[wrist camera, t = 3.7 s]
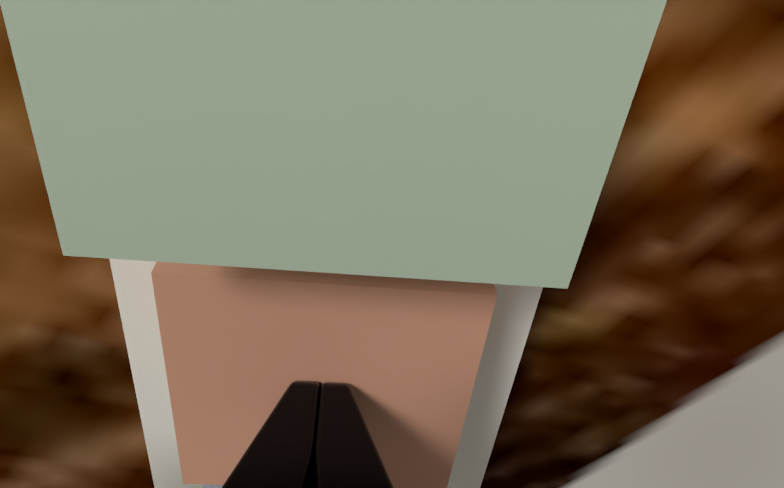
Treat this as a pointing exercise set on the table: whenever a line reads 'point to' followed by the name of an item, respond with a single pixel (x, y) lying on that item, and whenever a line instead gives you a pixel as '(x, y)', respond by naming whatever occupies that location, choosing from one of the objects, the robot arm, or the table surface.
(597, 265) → the table surface
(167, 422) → the button board
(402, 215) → the sage button
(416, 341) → the salmon block
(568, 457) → the table surface
